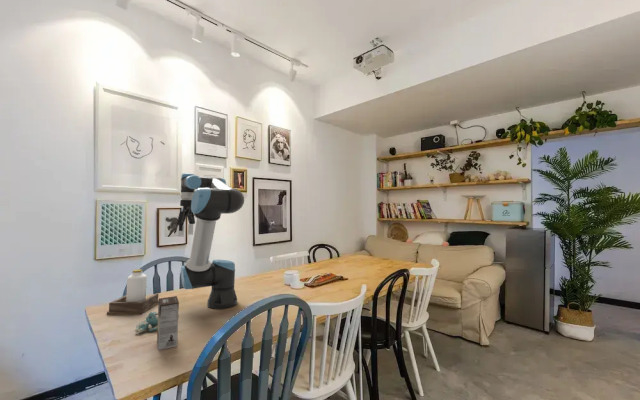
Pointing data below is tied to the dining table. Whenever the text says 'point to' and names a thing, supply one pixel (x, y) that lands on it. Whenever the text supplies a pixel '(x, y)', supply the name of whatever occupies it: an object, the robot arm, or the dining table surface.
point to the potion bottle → (136, 286)
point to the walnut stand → (132, 305)
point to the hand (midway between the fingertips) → (185, 235)
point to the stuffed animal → (148, 323)
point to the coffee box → (167, 322)
